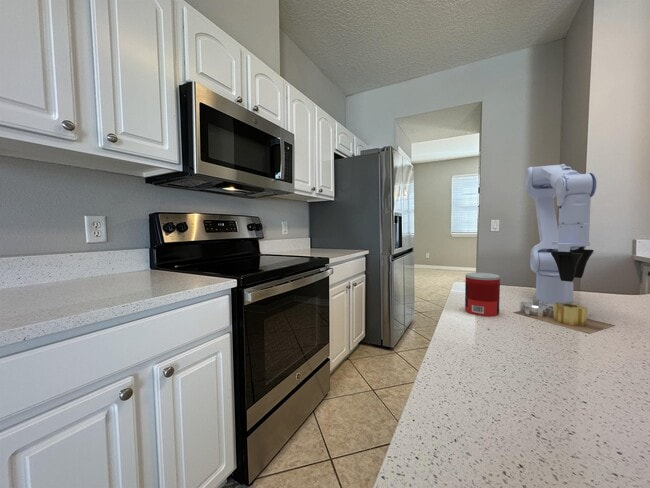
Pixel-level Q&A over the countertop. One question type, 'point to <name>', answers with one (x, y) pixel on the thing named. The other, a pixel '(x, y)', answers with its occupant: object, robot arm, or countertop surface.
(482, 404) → the countertop surface
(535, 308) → the gear
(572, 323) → the brass gear
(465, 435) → the countertop surface
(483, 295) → the canned food
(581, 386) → the countertop surface
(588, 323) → the gear board
